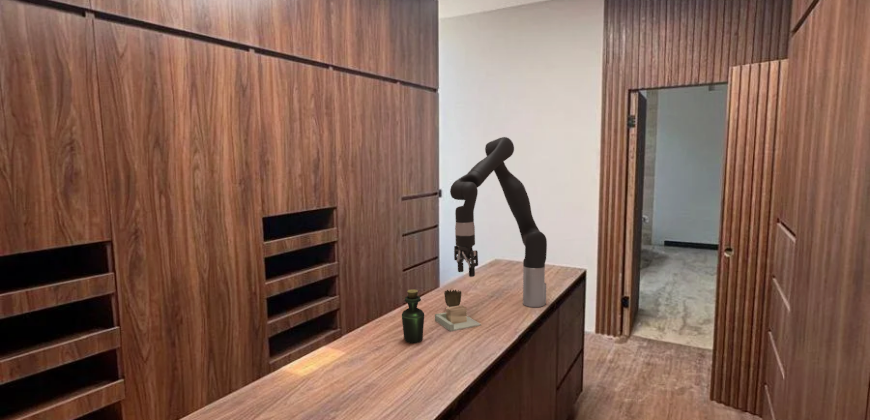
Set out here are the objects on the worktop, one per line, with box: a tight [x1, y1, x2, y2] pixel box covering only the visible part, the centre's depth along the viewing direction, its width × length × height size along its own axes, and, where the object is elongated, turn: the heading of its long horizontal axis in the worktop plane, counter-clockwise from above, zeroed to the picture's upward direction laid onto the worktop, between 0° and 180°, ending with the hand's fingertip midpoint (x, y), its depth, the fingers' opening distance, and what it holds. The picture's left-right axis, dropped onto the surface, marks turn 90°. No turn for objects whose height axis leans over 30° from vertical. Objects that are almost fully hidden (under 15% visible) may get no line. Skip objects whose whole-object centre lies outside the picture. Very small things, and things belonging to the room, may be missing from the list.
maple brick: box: [445, 304, 468, 324], centre depth 180 cm, size 4×7×6 cm, turn 116°
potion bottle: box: [401, 289, 425, 344], centre depth 162 cm, size 8×8×18 cm
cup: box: [444, 289, 462, 307], centre depth 195 cm, size 8×7×8 cm
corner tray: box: [434, 311, 482, 332], centre depth 180 cm, size 14×13×2 cm
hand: (466, 274), depth 178 cm, fingers open, 8 cm apart
